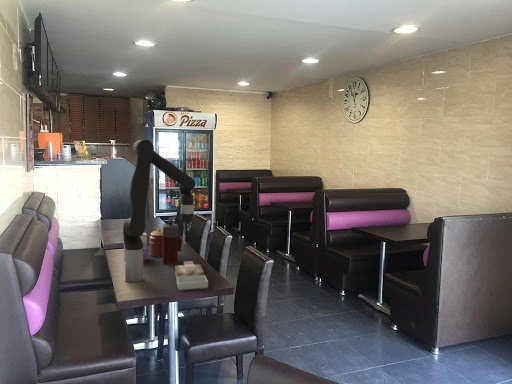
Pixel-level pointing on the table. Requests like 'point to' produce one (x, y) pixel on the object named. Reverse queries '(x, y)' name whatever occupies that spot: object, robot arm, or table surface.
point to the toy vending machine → (171, 243)
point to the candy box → (144, 240)
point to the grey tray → (192, 282)
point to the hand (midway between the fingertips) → (187, 241)
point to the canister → (156, 243)
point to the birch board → (181, 271)
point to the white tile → (189, 267)
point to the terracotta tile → (188, 263)
